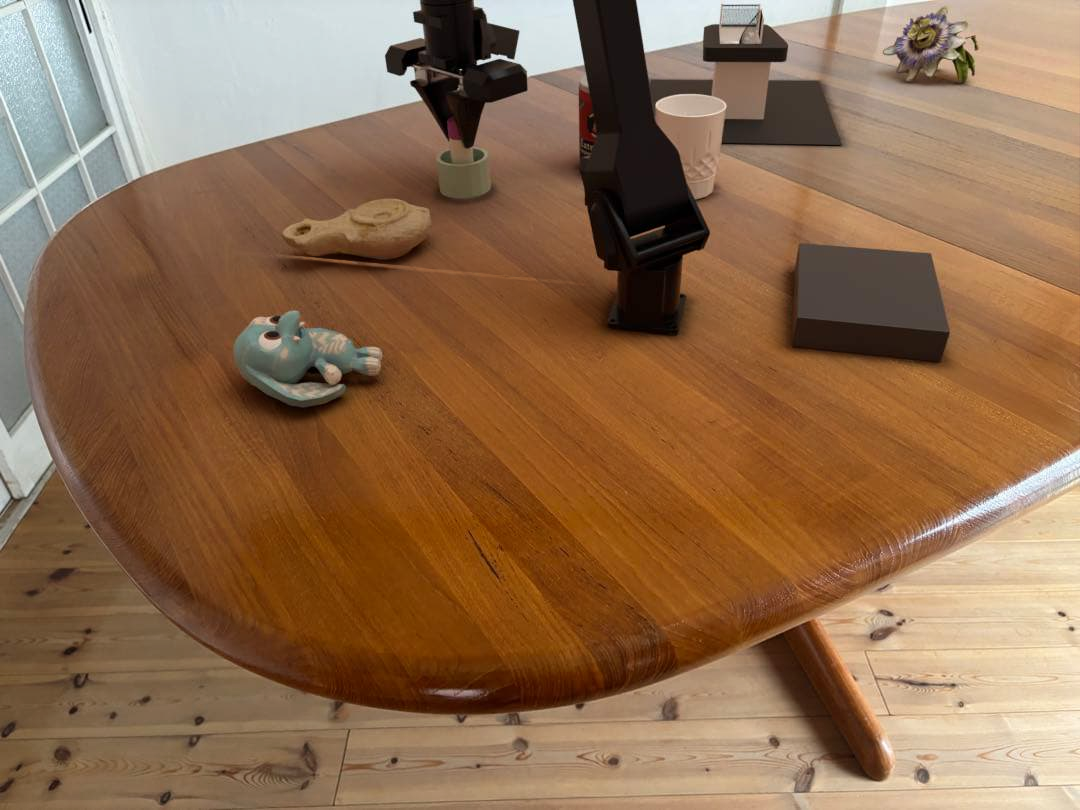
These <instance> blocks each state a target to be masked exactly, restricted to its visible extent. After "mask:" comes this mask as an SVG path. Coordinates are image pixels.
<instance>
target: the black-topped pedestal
mask: <svg viewBox="0 0 1080 810" xmlns="http://www.w3.org/2000/svg"><path fill="white" fill-rule="evenodd" d="M788 52H789V43H788V42H787V41H786V40H785V39H784V38H783V37H782V36H781V35H780V34H779V33H778V32H777V31H775V29H774V28H772V26H771V25H768V24H765V17H764V15H763V8H761V3H758V4H724V3H720V14H719V23H714V24H713V23H712V24H708V25H706V26H704V27H703V37H702V61H703V62H707V63H714V65H713V73H712V74H713V75H712V79H650V83H649V85H650V91H651V97H652V104H653V110H654V116H655V105H656V103H657V102H658V101H659V100H660V99H663V98H665V97H668V96H673V95H680V94H700V95H707V96H712V97H716V98H718V99H721V100H722V101H724V102H725V103H726V113H725V121H724V127H723V134H722V142H721V144H770V145H771V144H774V145H824V146H825V145H828V146H829V145H831V146H832V145H835V146H842V145H843V144H842V140H841V137H840V135H839V132H838V130H837V127H836V123H835V121H834V118H833V115H832V113H831V110H830V107H829V104H828V101H827V99H826V96H825V93H824V91H823V87H822V85H821V82H820V80H784V79H783V80H781V79H780V80H779V79H777V80H776V79H775V80H774V79H772V80H770V79H769V78H770V72H771V64H772V63H784V62H786V61H787V59H788Z"/></svg>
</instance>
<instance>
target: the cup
mask: <svg viewBox="0 0 1080 810" xmlns="http://www.w3.org/2000/svg"><path fill="white" fill-rule="evenodd" d="M472 150H473V161H474V162H473V163H469V164H452V160H451V151H450V148H447V149H444V150H442V151H440V152H438V154H437V155H435V161H436V168H437V177H438V186H439V192H440V194H442V195H443V196H445V197H446V198H450V199H458V200H459V199H460V200H463V199H472V198H478V197H481V196H483V195H486V194H487V193H488V192H489V191H490V190H491V188H492V182H491V181H492V180H491V170H490V167H491V166H490V156H489V152H488V150H486V149H484V148H482V147H478V146H473V147H472Z"/></svg>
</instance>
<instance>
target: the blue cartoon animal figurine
mask: <svg viewBox="0 0 1080 810" xmlns="http://www.w3.org/2000/svg"><path fill="white" fill-rule="evenodd" d="M305 325H306V322H305V321H301V312H300V311H299V310H295V309H294V310H289V311H287V312H285V313H284V314H282V315H279V314H278V315H271V316H265V317H264V316H257V317H255V318H253V319H252V320H251V321H250V323H249V324H248V325H247V326H246V327H245V328H244V330H242V331H241V333H240V334H239V335H238V337H237V338H236V339H235V341H234V344H233V346H232V347H233V349H232V351H233V360H234V362H235V365H236V368H237V370H238V372H239V374H240V375H241V376H242V379H244V380H245V381H247V382H248V383H249V384H250V385H251V386H252V387H253V386H254V387H256V388H257V389H258V390H260V391H261V392H263V393H264V394H266V395H267V396H270V397H272V398H274V399H276V400H279V401H280V402H282V403H284V404H286V405H288V406H291V407H299V408H308V407H315V406H319V405H324V404H327V403H328V402H331V401H333V400H335V399H337V398H339V397H341V396H343V395H344V394H346V391H347V386H346V385H345V384H344V383H339V382H340V381H341V379H342V376H343V375H345V374H348V373H351V372H352V371H355V372H358V373H360V374H362V375H365V376H369V377H371V376H372V377H373V376H375V377H376V376H378V375H379V374H380V372H381V370H382V365H381V364H382V363H381V362H382V361H383V358H384V357H383V351H382V350H381V347H376V346H368V345H367V346H363V347H360V348H356V347H355V345H354V341H352V339H351V338H349V337H347V336H346V335H345V334H343V333H340V332H338V331H335V330H331V329H327V328H323V327H313V328H312V327H311V328H305ZM312 367H313V368H316V369H317V370H318V371H319V373H320V374H321V376H322V377H323V379H324V381H325V382H327V383H324V382H323V383H322V382H312V381H308V382H301V383H299V381H300V380H301V379H302V378H303V377H304V376H305V374H306V373H307V371H308V370H309V369H310V368H312Z"/></svg>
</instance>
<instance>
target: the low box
mask: <svg viewBox="0 0 1080 810" xmlns="http://www.w3.org/2000/svg"><path fill="white" fill-rule="evenodd" d="M793 276H794V277H793V301H792V302H793V306H792V328H791V329H792V331H791V332H792V333H791V346H792V347H795V348H803V349H804V348H805V349H814V350H824V351H832V352H833V351H834V352H842V353H851V354H860V355H861V354H862V355H870V356H878V357H879V356H880V357H889V358H890V357H891V358H900V359H908V360H917V361H918V360H919V361H927V362H938V363H941V362H942V360H943V356H944V353H945V351H946V346H947V344H948V341H949V338H950V334H951V331H950V326H949V322H948V318H947V314H946V309H945V306H944V300H943V298H942V297H943V296H942V293H941V288H940V283H939V281H938V276H937V272H936V268H935V264H934V260H933V256H932V253H930V252H920V251H919V252H918V251H908V250H907V251H906V250H893V249H881V248H869V247H856V246H855V247H854V246H843V245H829V244H816V243H804V242H803V243H802V242H799V243H798V246H797V253H796V260H795V265H794V275H793Z"/></svg>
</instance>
